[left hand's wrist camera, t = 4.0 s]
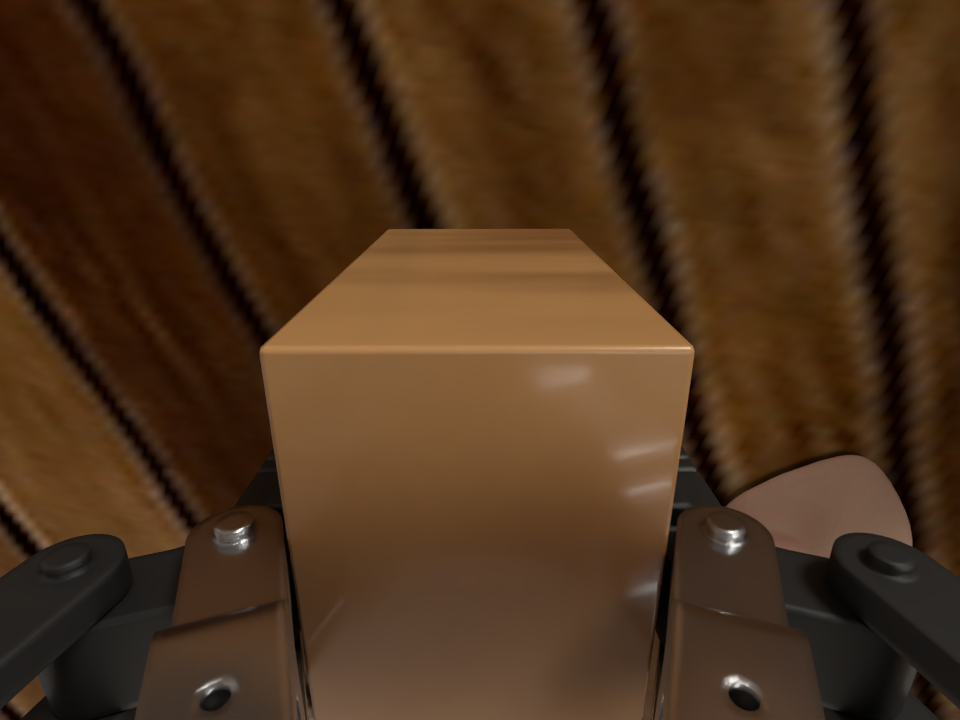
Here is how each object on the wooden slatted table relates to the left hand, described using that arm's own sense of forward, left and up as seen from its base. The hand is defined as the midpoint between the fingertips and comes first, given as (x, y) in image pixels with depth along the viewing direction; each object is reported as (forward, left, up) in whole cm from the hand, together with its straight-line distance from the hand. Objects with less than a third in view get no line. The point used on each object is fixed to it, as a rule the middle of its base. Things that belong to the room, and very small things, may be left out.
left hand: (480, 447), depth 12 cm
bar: (+2, +8, -5) cm, 10 cm away
